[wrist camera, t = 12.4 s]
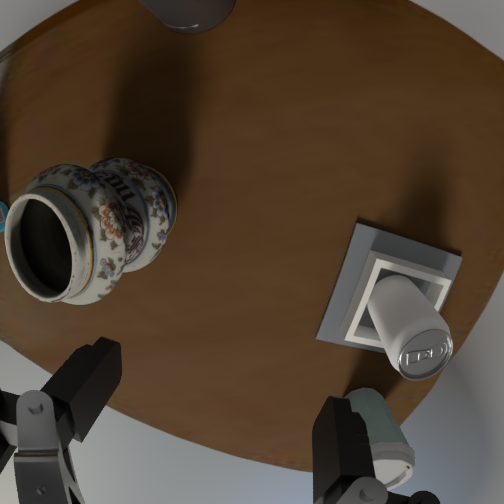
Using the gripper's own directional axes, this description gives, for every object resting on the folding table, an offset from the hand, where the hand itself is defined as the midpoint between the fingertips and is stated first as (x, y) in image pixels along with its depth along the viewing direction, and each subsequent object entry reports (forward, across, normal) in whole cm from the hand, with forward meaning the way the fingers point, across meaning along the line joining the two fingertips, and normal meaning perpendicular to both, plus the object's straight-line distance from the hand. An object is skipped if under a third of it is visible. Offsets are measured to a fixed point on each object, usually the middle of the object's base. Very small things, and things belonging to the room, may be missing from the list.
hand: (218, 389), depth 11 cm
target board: (+25, -17, +5) cm, 30 cm away
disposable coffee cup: (+24, -20, +22) cm, 38 cm away
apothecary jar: (+26, +15, +1) cm, 30 cm away
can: (+24, -17, +5) cm, 30 cm away
